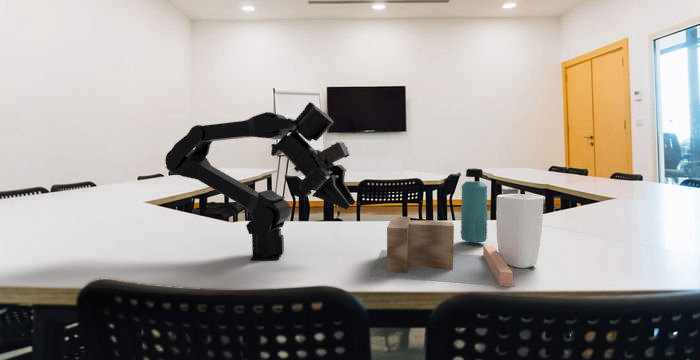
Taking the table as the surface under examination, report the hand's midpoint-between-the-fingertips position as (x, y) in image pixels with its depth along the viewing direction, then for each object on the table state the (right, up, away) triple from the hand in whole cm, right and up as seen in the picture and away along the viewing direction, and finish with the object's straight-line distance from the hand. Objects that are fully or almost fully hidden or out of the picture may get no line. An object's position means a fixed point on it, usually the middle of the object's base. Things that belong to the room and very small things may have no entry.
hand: (351, 205), depth 74 cm
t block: (+15, -12, -2) cm, 19 cm away
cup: (+36, -13, -2) cm, 38 cm away
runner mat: (+18, -13, -3) cm, 22 cm away
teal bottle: (+32, -11, +13) cm, 36 cm away
